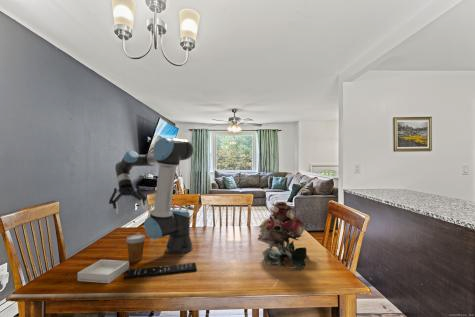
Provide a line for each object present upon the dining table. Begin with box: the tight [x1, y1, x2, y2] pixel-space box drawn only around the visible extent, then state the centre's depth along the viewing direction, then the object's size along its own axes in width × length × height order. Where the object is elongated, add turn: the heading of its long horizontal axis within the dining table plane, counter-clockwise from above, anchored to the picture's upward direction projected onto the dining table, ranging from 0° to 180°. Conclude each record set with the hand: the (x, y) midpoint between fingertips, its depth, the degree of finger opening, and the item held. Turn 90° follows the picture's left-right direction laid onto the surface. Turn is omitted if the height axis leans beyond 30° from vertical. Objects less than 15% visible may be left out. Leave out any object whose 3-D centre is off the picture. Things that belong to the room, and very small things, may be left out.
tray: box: [77, 259, 130, 284], centre depth 114 cm, size 15×15×4 cm
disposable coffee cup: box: [125, 233, 146, 263], centre depth 131 cm, size 10×10×12 cm
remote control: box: [123, 262, 198, 280], centre depth 116 cm, size 8×32×2 cm, turn 105°
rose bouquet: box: [257, 201, 307, 272], centre depth 133 cm, size 26×29×30 cm
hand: (130, 211), depth 140 cm, fingers open, 13 cm apart
